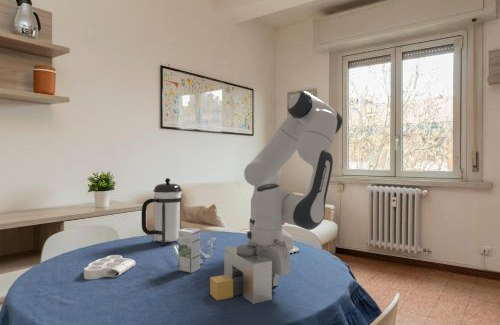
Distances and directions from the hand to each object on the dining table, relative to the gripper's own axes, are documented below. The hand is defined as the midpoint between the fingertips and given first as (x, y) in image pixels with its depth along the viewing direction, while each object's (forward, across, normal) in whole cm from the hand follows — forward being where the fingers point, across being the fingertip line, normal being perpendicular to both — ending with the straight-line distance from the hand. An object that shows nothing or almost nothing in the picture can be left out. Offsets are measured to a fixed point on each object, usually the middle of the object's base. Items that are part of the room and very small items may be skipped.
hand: (267, 280), depth 108 cm
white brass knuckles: (+2, +39, +42) cm, 57 cm away
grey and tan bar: (+2, 0, +8) cm, 8 cm away
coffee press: (+2, +68, +14) cm, 69 cm away
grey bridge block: (+2, 0, +8) cm, 8 cm away
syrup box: (+2, +26, +17) cm, 31 cm away
